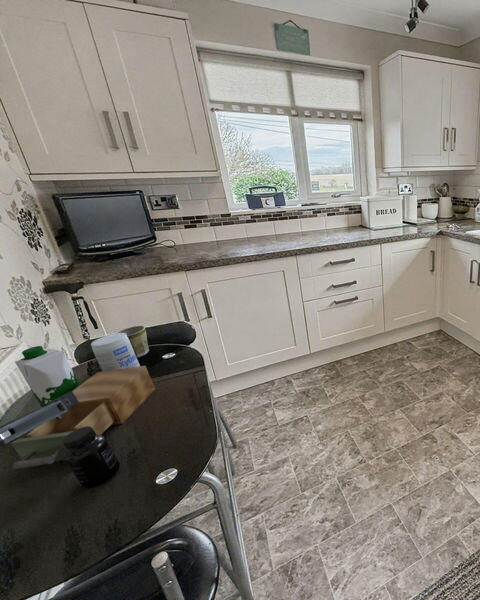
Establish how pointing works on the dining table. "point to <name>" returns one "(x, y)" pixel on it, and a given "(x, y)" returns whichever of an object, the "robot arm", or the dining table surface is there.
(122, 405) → the cabinet
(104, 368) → the supplement tub
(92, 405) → the drawer
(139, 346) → the ceramic cup
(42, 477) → the dining table surface
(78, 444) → the supplement bottle
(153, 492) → the dining table surface
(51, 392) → the milk carton
